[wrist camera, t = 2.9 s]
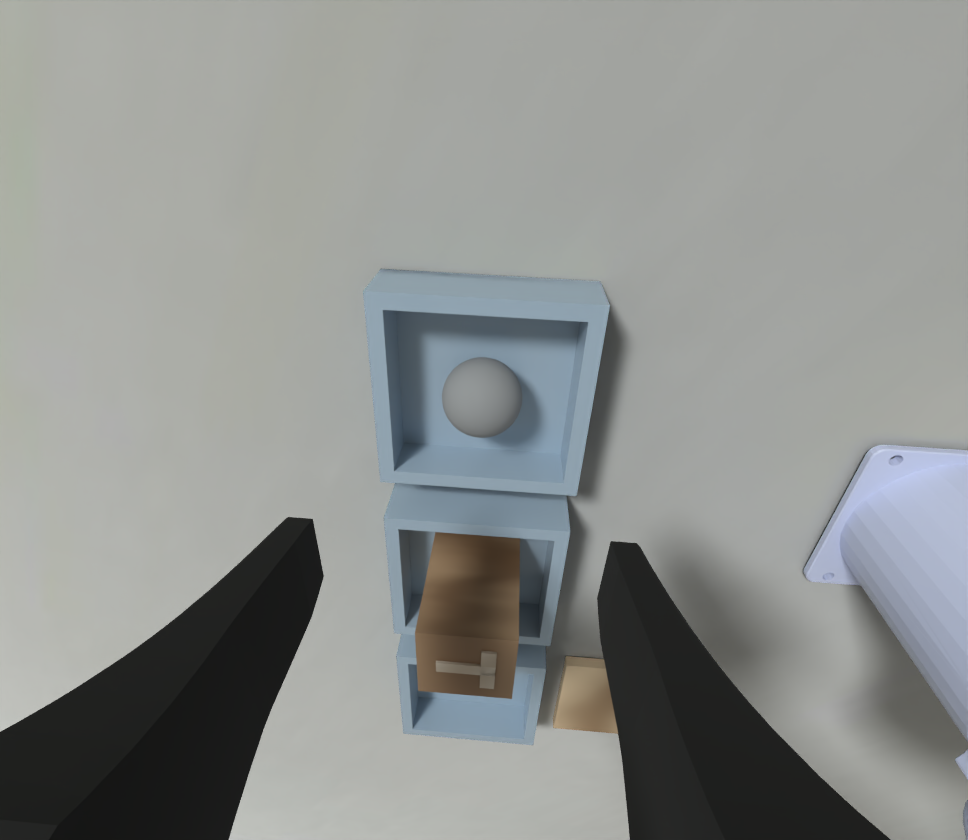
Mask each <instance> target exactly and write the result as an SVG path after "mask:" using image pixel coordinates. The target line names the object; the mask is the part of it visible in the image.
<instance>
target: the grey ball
mask: <svg viewBox="0 0 968 840" xmlns="http://www.w3.org/2000/svg"><path fill="white" fill-rule="evenodd" d="M442 404H443V409H444V412H445V414H446V416H447V418H448V420H449V421H450V422H451V424H452V425H453V426H454V427H455V428H456V429H458V430H459V431H461V432H462V433H464V434H466V435H469V436H472V437H478V438H487V437H492V436H496V435H498V434H500V433H502V432H504V431H505V430H507V429H508V428H509V427H510V426H511V425H512V424H513V423H514V422H515V420H516V419H517V417H518V415H519V413H520V410H521V406H522V389H521V385H520V382H519V380H518V378H517V376H516V375H515V373H514V372H513V371H512V370H511V369H510V368H509V367H508V366H507V365H505V364H504V363H502V362H500V361H498V360H496V359H492V358H487V357H477V358H472V359H469V360H466V361H464V362H462V363H461V364H459V365H458V366H456V367H455V368H454V369H453V370H452V371H451V373H450V374H449V375H448V377H447V379H446V381H445V383H444V386H443V391H442Z"/></svg>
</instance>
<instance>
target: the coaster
mask: <svg viewBox="0 0 968 840" xmlns="http://www.w3.org/2000/svg"><path fill="white" fill-rule="evenodd" d="M553 728H560V729H572V730H583V731H594V732H606V733H617V734H618V730H617V725H616V719H615V714H614V709H613V704H612V699H611V693H610V688H609V683H608V678H607V672H606V667H605V662H604V659H595V658H583V657H571V656H566V658H565V663H564V668H563V672H562V677H561V682H560V687H559V692H558V697H557V702H556V706H555V711H554V716H553Z"/></svg>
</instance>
